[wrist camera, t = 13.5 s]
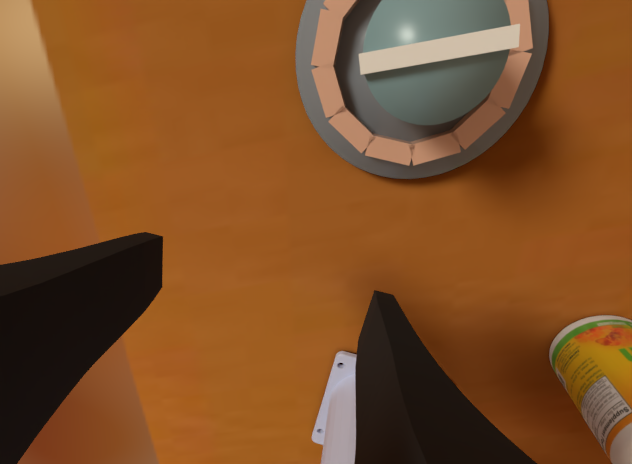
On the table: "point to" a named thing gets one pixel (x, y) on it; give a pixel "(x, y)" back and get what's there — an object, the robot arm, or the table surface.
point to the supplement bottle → (599, 378)
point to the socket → (383, 128)
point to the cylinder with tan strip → (436, 56)
